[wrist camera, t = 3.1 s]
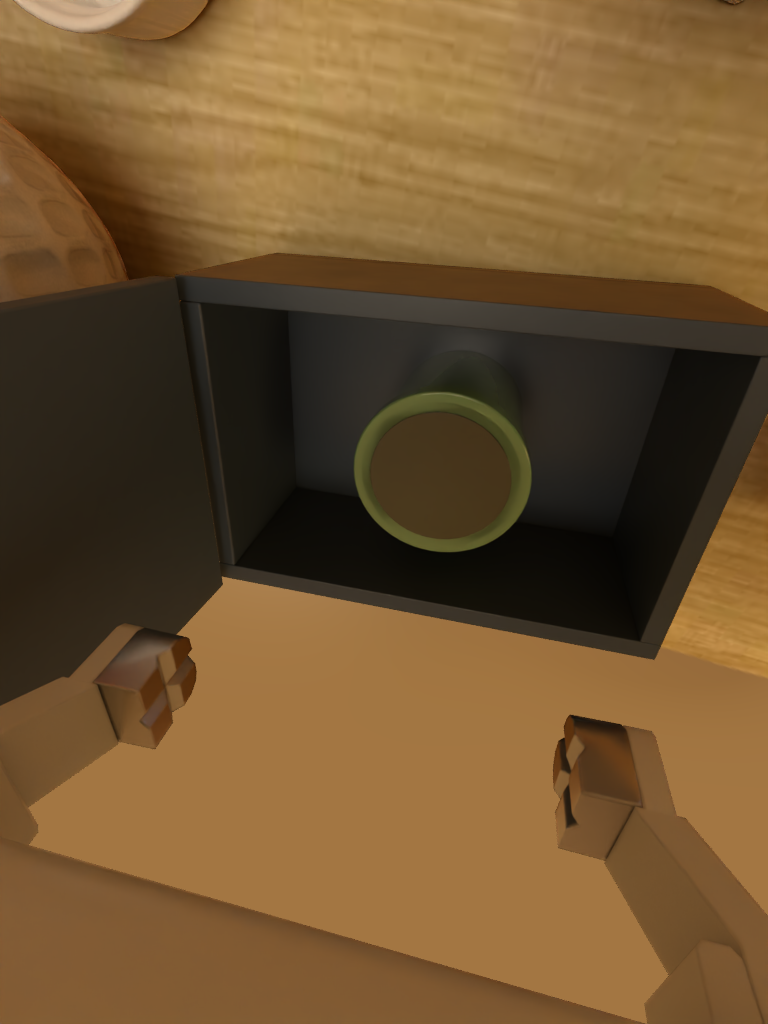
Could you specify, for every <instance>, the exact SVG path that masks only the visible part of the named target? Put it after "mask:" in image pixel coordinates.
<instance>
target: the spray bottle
mask: <svg viewBox="0 0 768 1024" xmlns="http://www.w3.org/2000/svg"><path fill="white" fill-rule="evenodd" d="M724 1H727V2H729V3H732V4H736V3H739V2H741V1H744V0H724Z"/></svg>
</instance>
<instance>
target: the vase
mask: <svg viewBox="0 0 768 1024" xmlns="http://www.w3.org/2000/svg"><path fill="white" fill-rule="evenodd" d="M128 280H129V279H128V276H127V273H126V269H125V266H124V263H123V260H122V258H121V256H120V254H119V251H118V249H117V247H116V244H115V242H114V240H113V239H112V237H111V235H110V233H109V232H108V230H107V228H106V226H105V225H104V223H103V222H102V220H101V219H100V217H99V216H98V215H97V213H96V212H95V211H94V209H93V208H92V206H91V205H90V204H89V202H88V201H87V200H86V198H85V197H84V196H83V194H82V193H81V192H80V191H79V189H78V188H77V187H76V186H75V185H74V184H73V183H72V181H71V180H70V179H69V178H68V177H67V176H66V175H65V174H64V173H63V171H62V170H61V169H60V168H59V167H58V166H57V165H56V164H55V163H54V162H52V161H51V160H50V159H49V158H48V157H47V156H46V155H45V154H44V153H43V152H42V151H41V150H40V149H39V148H37V147H36V146H35V145H34V144H33V143H32V142H31V141H30V140H29V139H28V138H26V137H25V136H24V135H23V134H22V133H21V132H20V131H18V130H17V129H16V128H15V127H14V126H13V125H12V124H10V123H9V122H8V121H7V120H6V119H5V118H3V117H2V116H0V303H1V302H7V301H12V300H18V299H24V298H30V297H35V296H41V295H47V294H53V293H59V292H64V291H70V290H76V289H82V288H87V287H93V286H99V285H105V284H110V283H116V282H122V281H128Z"/></svg>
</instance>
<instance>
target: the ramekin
mask: <svg viewBox="0 0 768 1024" xmlns="http://www.w3.org/2000/svg"><path fill="white" fill-rule="evenodd" d="M13 1H15V2H16V3H17V4H18V5H19V6H20V7H22V8H23V9H24V10H26V11H27V12H28V13H30V14H32V15H33V16H35V17H37V18H38V19H40V20H42V21H44V22H46V23H47V24H50V25H52V26H54V27H57V28H60V29H63V30H67V31H71V32H77V33H89V34H95V33H107V34H112V35H116V36H121V37H125V38H132V39H140V40H153V39H163V38H166V37H170V36H172V35H174V34H176V33H178V32H180V31H182V30H184V29H185V28H186V27H187V26H189V25H190V24H191V23H192V22H193V21H194V20H195V19H196V18H197V16H198V15H199V14H200V13H201V11H202V10H203V9H204V8H205V6H206V4H207V2H208V1H209V0H13Z"/></svg>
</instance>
